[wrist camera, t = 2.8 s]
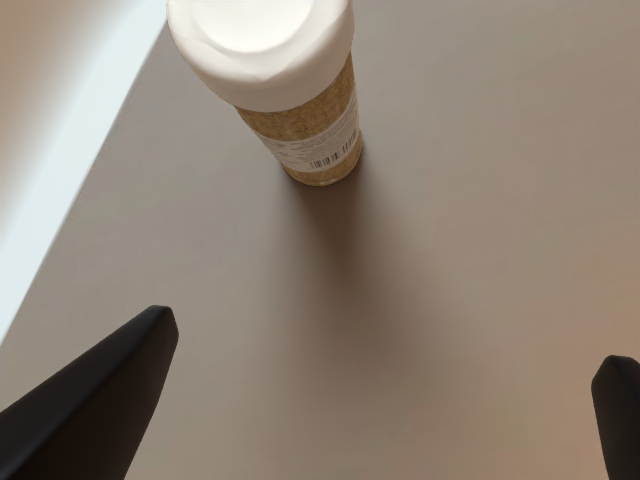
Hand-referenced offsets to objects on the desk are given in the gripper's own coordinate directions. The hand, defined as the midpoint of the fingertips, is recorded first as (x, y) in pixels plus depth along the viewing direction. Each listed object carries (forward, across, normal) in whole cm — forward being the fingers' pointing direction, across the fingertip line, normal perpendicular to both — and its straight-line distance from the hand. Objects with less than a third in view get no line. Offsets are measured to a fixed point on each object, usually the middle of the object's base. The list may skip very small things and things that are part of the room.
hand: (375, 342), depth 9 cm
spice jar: (+16, +4, +3) cm, 16 cm away
